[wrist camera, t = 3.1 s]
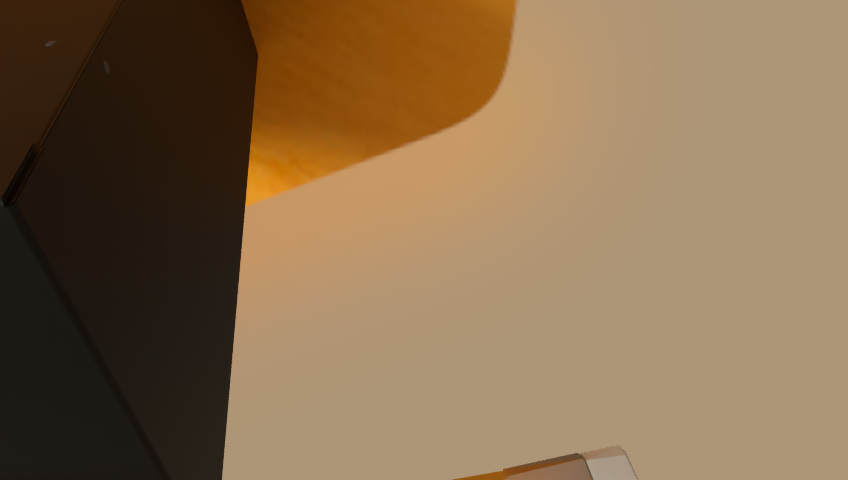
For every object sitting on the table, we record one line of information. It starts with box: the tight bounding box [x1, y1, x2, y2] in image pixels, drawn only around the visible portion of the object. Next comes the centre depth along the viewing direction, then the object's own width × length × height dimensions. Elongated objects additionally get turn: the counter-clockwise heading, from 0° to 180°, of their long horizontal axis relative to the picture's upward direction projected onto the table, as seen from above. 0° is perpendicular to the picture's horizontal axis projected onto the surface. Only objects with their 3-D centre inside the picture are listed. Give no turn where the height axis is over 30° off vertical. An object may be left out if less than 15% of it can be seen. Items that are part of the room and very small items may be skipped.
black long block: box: [0, 0, 258, 480], centre depth 21 cm, size 8×8×28 cm
